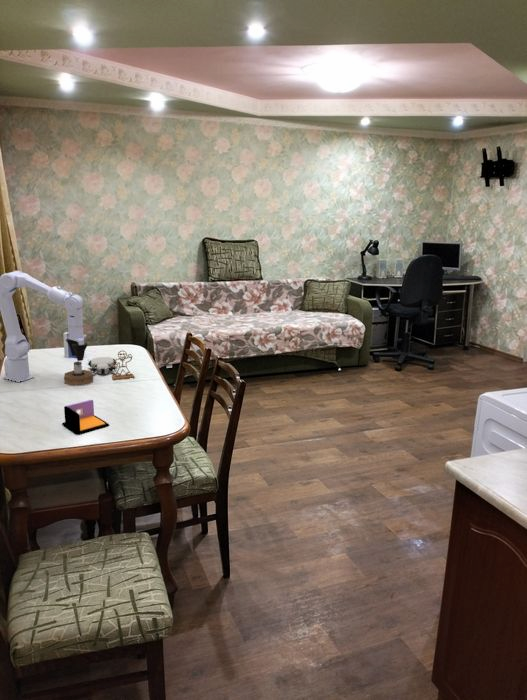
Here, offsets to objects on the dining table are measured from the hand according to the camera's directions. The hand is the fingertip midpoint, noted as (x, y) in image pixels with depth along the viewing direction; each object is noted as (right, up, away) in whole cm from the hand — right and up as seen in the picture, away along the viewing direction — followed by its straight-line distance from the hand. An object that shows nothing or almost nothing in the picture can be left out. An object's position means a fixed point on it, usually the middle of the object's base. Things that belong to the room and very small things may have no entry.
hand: (77, 358), depth 222 cm
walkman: (-14, 0, +35) cm, 38 cm away
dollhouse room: (+16, -22, -39) cm, 48 cm away
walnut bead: (0, -10, +3) cm, 10 cm away
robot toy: (+5, -6, +16) cm, 18 cm away
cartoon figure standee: (+17, -9, +8) cm, 20 cm away
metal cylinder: (0, -10, +3) cm, 10 cm away
